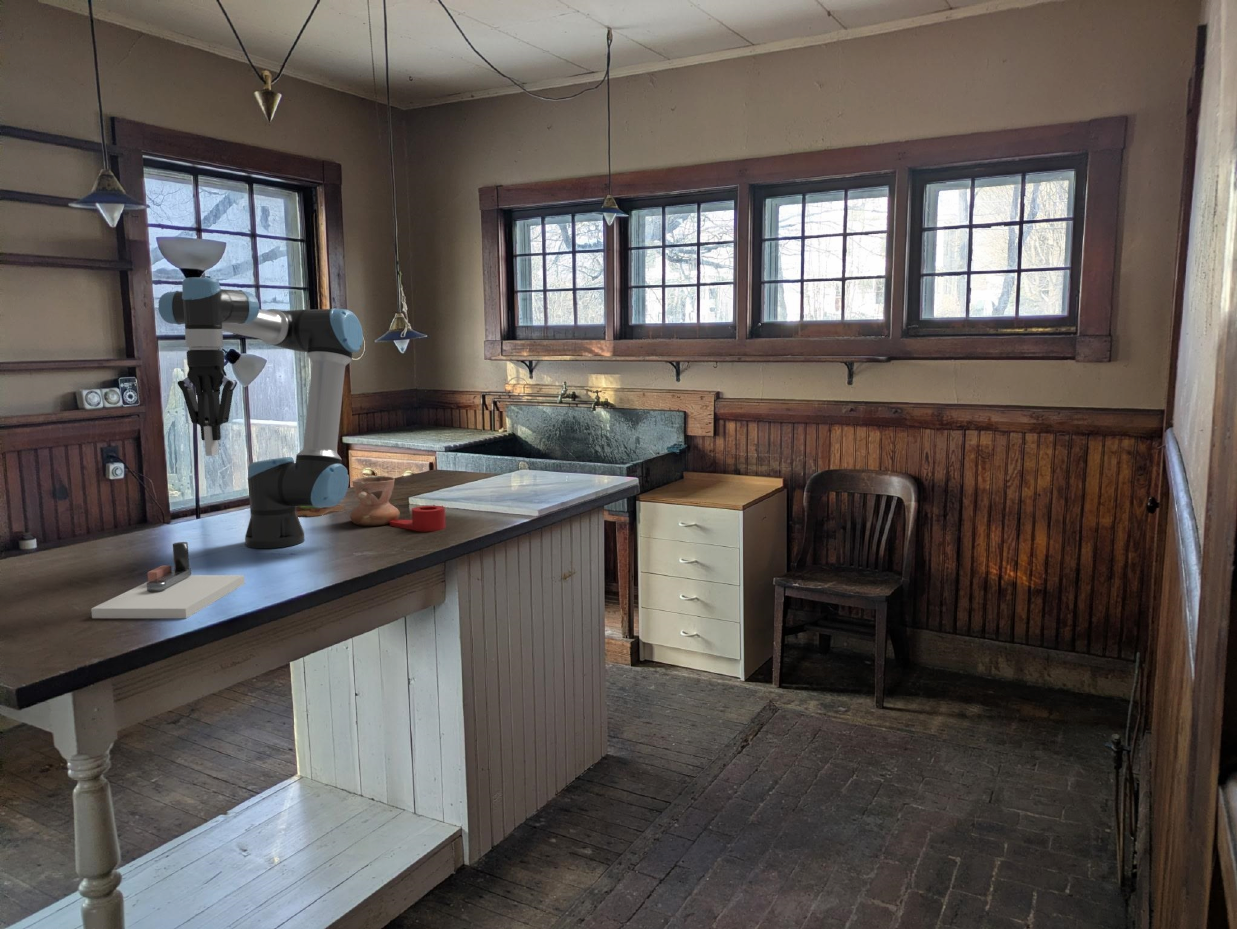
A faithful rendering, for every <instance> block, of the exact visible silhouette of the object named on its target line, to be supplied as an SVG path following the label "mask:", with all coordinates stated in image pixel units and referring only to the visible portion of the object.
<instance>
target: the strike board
mask: <svg viewBox="0 0 1237 929" xmlns="http://www.w3.org/2000/svg"><path fill="white" fill-rule="evenodd" d="M172 571H173V570H172V565H160V566H159V567H156V568H154V569H151V570H149V571H148V572H147V580H148V581H146V582H144V583H142V584H140V585H137V586H136V587H134V588H132V589H129V590H127V591H126V592H123V593H121V594H119V595H116V596H115V597H112V598H110V599H109V600H106V601H104V602H102V603H100V604H98V605H96V606H94V607H92V608H91V607H90V609H91V619H188V618H190V617H191V616H193V615H195V614H197V613H198V612H199V611H201V610H203V609H204V608H206V607H208V606H210V605H211V604H213V603H214V602H217V601H218V600H220V599H222V598H223V597H225V596H227V595H228V594H230V593H232V592H234V591H235V590H237V589H238V588H240V587H242V586H244V585H245V584H246V582H245V580H246V579H245V575H243V574H232V575H231V574H227V575H226V574H221V575H220V574H206V575H205V574H191V575H190V576H188V577H186V578H184V579H183V580H181V581H179V582H177V583H175V584H173V585H171V586H169V587H167V588H166V589H165V590H161V591H155V592H149V591H147V583H148V582H151V581H153V580H155V579H157V578H159V577H161V576H163V575H165V574H168V573H170V572H172Z"/></svg>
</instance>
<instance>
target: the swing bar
mask: <svg viewBox="0 0 1237 929" xmlns="http://www.w3.org/2000/svg"><path fill="white" fill-rule="evenodd" d="M188 544H189V543H188V542H187V541H179V542H174V543H172V553H173V566H174V567H173V568H174V569H173V570H172V572H170V573H168V574H165V575H163V576H161V577H159V578H157V579H155V580H153V581H151V582H148V581H147V582H148V583H147V591H149V592H155V591H161V590H165V589H166V588H167V587H169V586H171V585H173V584H175V583H177V582H179V581H181V580H183V579H184V578H186V577H188V576H190V575H192V569H191V568H190V560H189V559H190V558H189V546H188Z"/></svg>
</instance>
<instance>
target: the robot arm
mask: <svg viewBox="0 0 1237 929" xmlns="http://www.w3.org/2000/svg"><path fill="white" fill-rule="evenodd" d="M181 283H182V288H181V289H182V290H180V291H179V290H176V291H175V290H174V291H168V292H165V293H163V294H162V295H161V296H160V298H158V299H159V300H158V305H157V306H158V308H157V309H158V313H159V315H160V317H161V319H162V320H163V321H165V322H166V323H168V324H172V325H173V324H174V325H178V326H179V325H184V336H185V339H184V340H185V347H186V348H189V349H188V350H187V351H186V364H187V367H188V371H187V373H186V374H187V375H186V377H185V378H184V379H182V380H179V381H177V386H178V387H179V388H180V390H181V391H182V392H181V393H182V394H183V398H184V400H185V405H186V408H187V411H188V415H189V418H190V422H191V424H195V425H199V426H200V438H201V441H204V452H205V457H208V456H209V457H213V456H217V455H219V441H220V440H221V438H222V435H221V433H222V432H221V425H223V424H226V423H228V422H229V420H230V419H229V418H230V413H231V406H232V401H233V395H234V391H235V389H236V387H237V385H238V381H237V380H235V379H233V380H232V379H231V378H229V377H228V376H227V372H226V370H225V351H224V350H223V349H221V348H224V336H223V335H224V334H223V332H227V333H229V334H230V333H231V334H236V335H240V336H245V337H250V338H255V339H260V340H261V341H262V342H263V343H265V344H266V345H270V346H275V347H279V348H282V349H287V350H290V351H296V352H300V353H303V352H304V353H307V355H306V356H307V357H308V359H309V360H310V361H311V370H310V380H309V381H310V382H309V389H308V399H307V400H308V401H307V408H306V417H305V428H304V437H303V438H304V439H303V445H302V447H303V448H302V450H300V451H299V452H298V453H297V454H296V457H295V459H294V458H293V456H284V457H277V458H270V459H264V460H263V459H262V460H259V461H254V462H251V463H250V464H249V465H248V466H247V467H248V469H247V470H248V471H247V474H248V475H247V483H248V484H247V485H248V496H249V497H248V498H249V510H250V518H249V522H248V526H247V529H246V533H245V535H244V541H245V542H244V543H245V546H246V547H248V548H251V549H276V548H277V549H278V548H286V547H291V546H296V545H299V544H303V542H305V540H306V539H305V531H304V529H303V526H302V524H301V521H300V519H299V518H298V516H297V513H296V506H304V507H317V508H323V507H333V506H335V505H339V504H340V503H341V501H343V499H344V498H345V496H346V494H347V492H348V488H349V485H350V476H349V474H348V468H347V467H345V466H344V465H343V464H342V461H343V460H342V458H341V456H340V455H339V454H338V452H337V451H338V442H339V431H340V423H341V422H340V421H341V411H342V402H343V393H344V392H343V391H344V381H345V375H346V374H345V373H346V366H347V365H348V364H350V363H352V359H353V353H356V352H358V351H359V350H361V348H362V346H363V343H364V332H363V328H362V324H361V322H360V321H359V318H358V317H357V315H356V314H355V312H352V311H351V310H350V309H346V308H337V307H336V308H335V307H334V308H324V309H323V308H322V309H321V308H320V309H319V308H318V309H315V308H314V309H293V310H292V309H291V310H279V309H274V308H269V309H267V310H264V309H261V308H260V303H259V301H258V298H257V296H255V295H254V294H253V293H252V292H249V291H244V290H242V289H237V290H236V289H224V288H223V289H222V288H221V286H220V282H219V280H218V279H217V278H216V277H215V278H214V277H196V276H195V277H193V276H192V277H186V278H184V279H183V281H182V282H181ZM193 387H194V388H193ZM221 387H222V391H221Z"/></svg>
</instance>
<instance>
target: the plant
mask: <svg viewBox="0 0 1237 929" xmlns="http://www.w3.org/2000/svg"><path fill="white" fill-rule="evenodd" d="M347 508H348V506H342V505H339V504H337V505H335V506H333V507H323V508H317V507H304V506H296V513H297V516H298V517H299V518H318V517H323V516H326V515H330V514H334V512H335V513H338V512H339V511H340V512H343V511H345V510H346V509H347ZM344 509H345V510H344ZM322 515H323V516H322Z"/></svg>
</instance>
